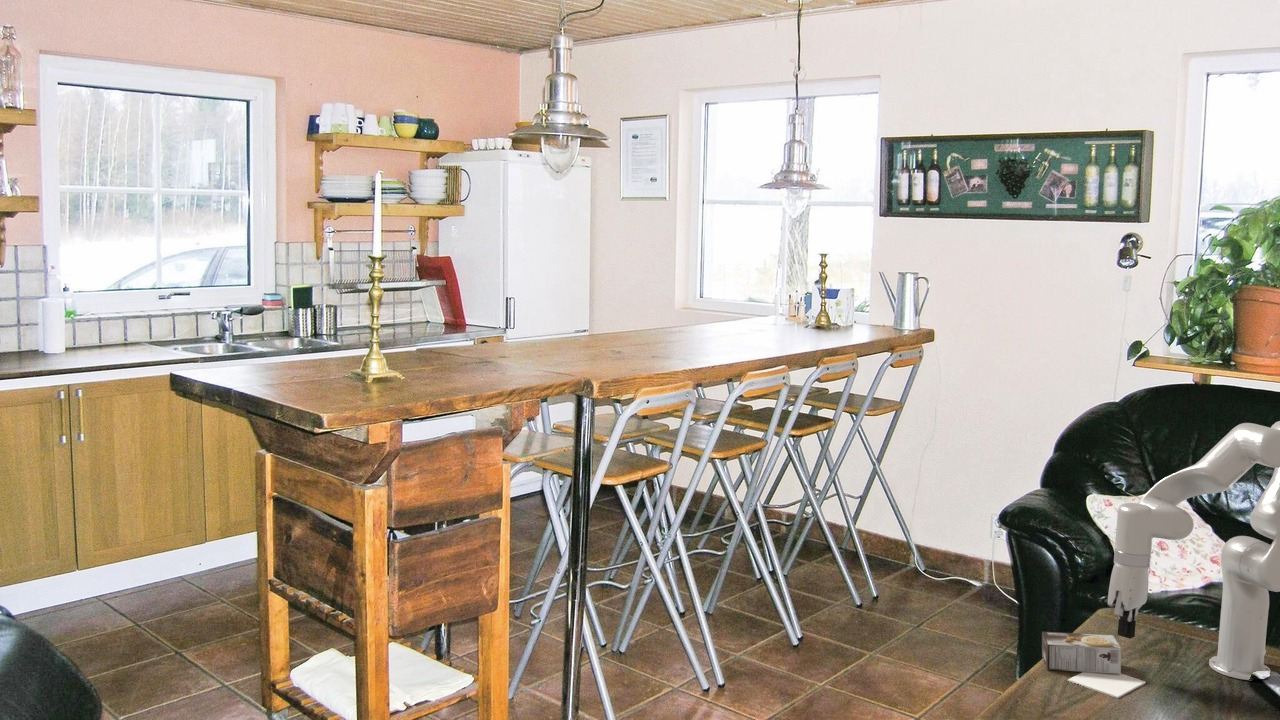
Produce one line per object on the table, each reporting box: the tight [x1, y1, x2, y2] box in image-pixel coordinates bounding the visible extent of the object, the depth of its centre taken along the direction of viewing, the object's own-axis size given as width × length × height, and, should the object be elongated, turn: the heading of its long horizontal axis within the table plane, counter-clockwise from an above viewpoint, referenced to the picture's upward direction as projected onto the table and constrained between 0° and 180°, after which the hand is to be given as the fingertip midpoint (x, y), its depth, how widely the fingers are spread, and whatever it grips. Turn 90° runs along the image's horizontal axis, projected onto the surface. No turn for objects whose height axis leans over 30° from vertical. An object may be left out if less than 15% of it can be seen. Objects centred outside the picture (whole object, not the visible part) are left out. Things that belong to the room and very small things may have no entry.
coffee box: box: [1041, 631, 1122, 674], centre depth 255 cm, size 9×6×16 cm
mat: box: [1067, 672, 1147, 699], centre depth 246 cm, size 13×12×1 cm
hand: (1126, 636), depth 249 cm, fingers closed
